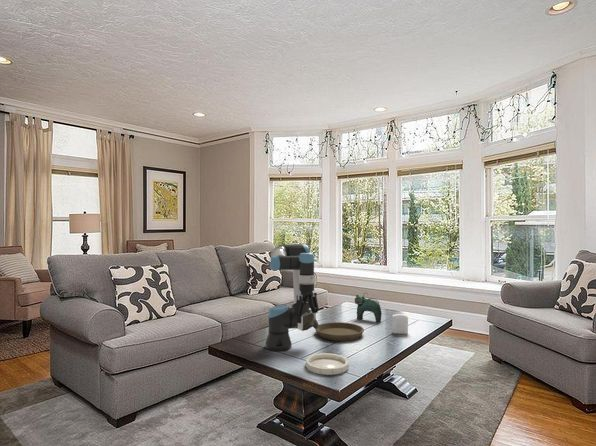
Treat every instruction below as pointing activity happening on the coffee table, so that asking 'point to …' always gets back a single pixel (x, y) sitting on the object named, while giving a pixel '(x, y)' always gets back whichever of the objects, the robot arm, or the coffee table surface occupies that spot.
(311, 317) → the fossil
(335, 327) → the plant saucer
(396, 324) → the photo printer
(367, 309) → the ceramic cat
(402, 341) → the coffee table surface
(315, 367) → the round tray
